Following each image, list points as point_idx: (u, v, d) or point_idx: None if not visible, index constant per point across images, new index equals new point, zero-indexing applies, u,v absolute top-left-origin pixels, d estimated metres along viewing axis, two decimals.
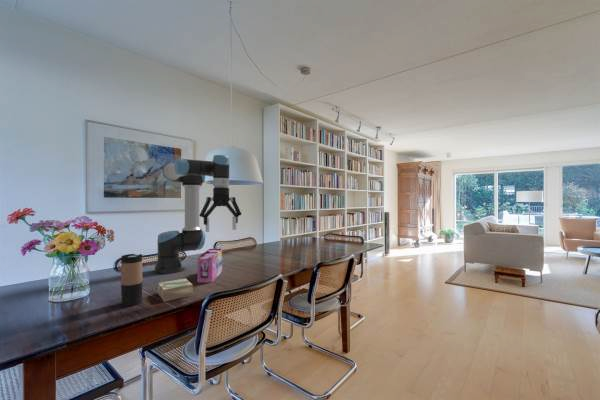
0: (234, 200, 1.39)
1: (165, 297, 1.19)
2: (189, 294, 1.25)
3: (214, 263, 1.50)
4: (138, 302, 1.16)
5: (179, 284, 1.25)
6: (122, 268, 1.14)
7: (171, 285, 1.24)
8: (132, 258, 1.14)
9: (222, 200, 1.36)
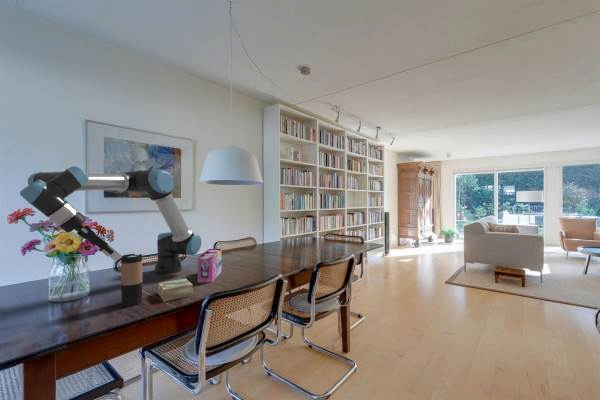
0: (83, 234, 0.99)
1: (165, 297, 1.19)
2: (189, 294, 1.25)
3: (214, 263, 1.50)
4: (138, 302, 1.16)
5: (179, 284, 1.25)
6: (122, 268, 1.14)
7: (171, 285, 1.24)
8: (132, 258, 1.14)
9: (80, 232, 1.04)
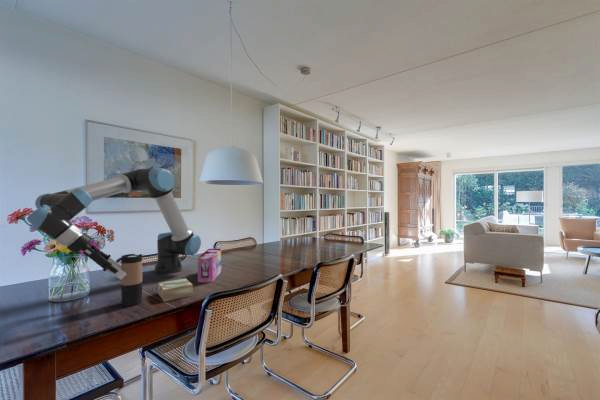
0: (87, 255, 1.02)
1: (165, 297, 1.19)
2: (189, 294, 1.25)
3: (214, 263, 1.50)
4: (138, 302, 1.16)
5: (179, 284, 1.25)
6: (122, 268, 1.14)
7: (171, 285, 1.24)
8: (132, 258, 1.14)
9: None
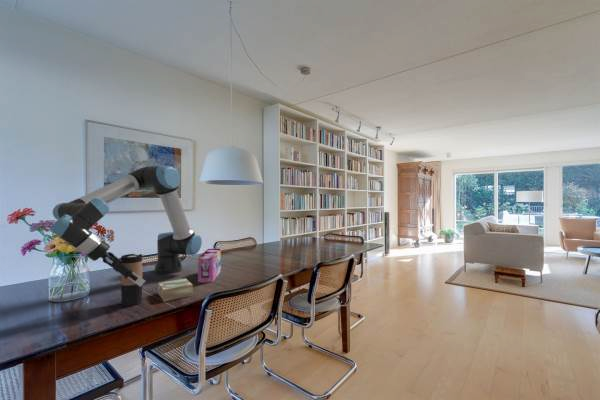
0: (108, 264, 1.07)
1: (165, 297, 1.19)
2: (189, 294, 1.25)
3: (214, 263, 1.50)
4: (138, 302, 1.16)
5: (179, 284, 1.25)
6: None
7: (171, 285, 1.24)
8: (132, 258, 1.14)
9: None
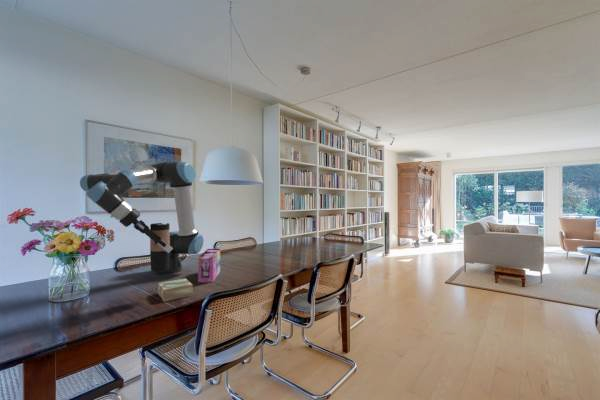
0: (140, 229, 1.13)
1: (165, 297, 1.19)
2: (189, 294, 1.25)
3: (214, 263, 1.50)
4: (166, 268, 1.22)
5: (179, 284, 1.25)
6: None
7: (171, 285, 1.24)
8: (161, 226, 1.19)
9: None
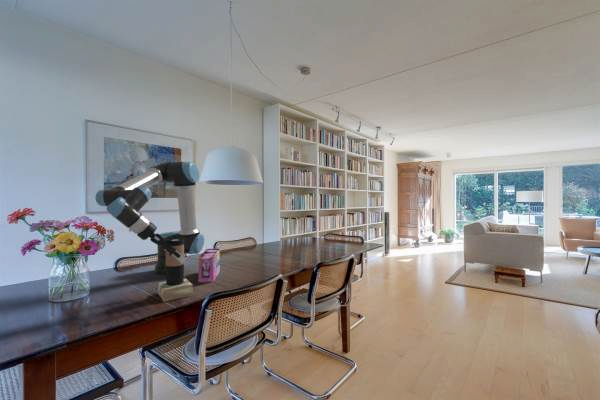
0: (156, 241, 1.16)
1: (165, 297, 1.19)
2: (189, 294, 1.25)
3: (215, 263, 1.50)
4: (181, 282, 1.26)
5: None
6: None
7: None
8: (176, 241, 1.24)
9: (153, 239, 1.21)
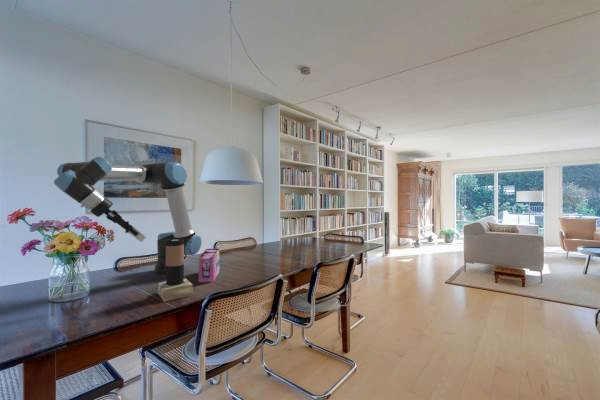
0: (110, 218, 1.09)
1: (165, 297, 1.19)
2: (189, 294, 1.25)
3: (215, 263, 1.51)
4: (181, 282, 1.26)
5: None
6: (167, 250, 1.24)
7: None
8: (176, 241, 1.24)
9: None
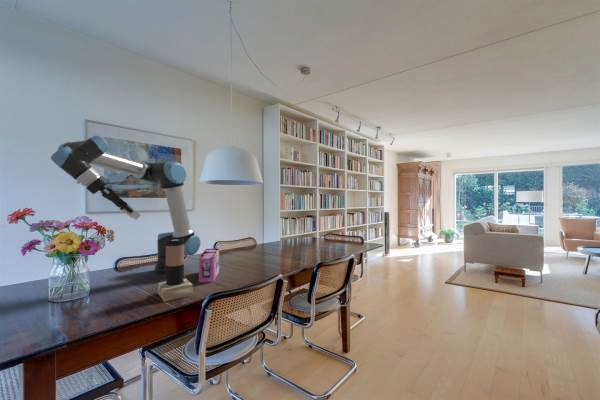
0: (105, 194, 1.11)
1: (165, 297, 1.19)
2: (189, 294, 1.25)
3: (215, 263, 1.51)
4: (181, 282, 1.26)
5: None
6: (167, 250, 1.24)
7: None
8: (176, 241, 1.24)
9: None
